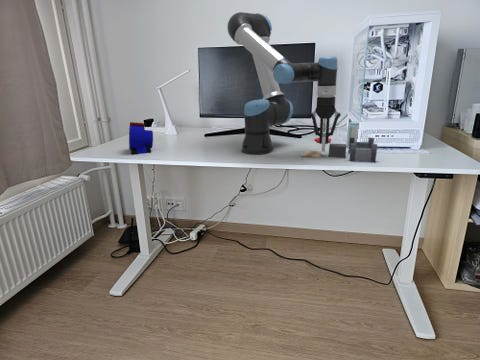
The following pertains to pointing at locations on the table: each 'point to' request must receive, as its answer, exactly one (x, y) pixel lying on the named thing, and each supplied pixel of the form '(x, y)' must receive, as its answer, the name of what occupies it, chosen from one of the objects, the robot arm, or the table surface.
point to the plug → (337, 150)
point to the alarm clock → (140, 138)
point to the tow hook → (323, 132)
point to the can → (352, 131)
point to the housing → (362, 150)
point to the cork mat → (311, 154)
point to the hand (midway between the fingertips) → (323, 150)
